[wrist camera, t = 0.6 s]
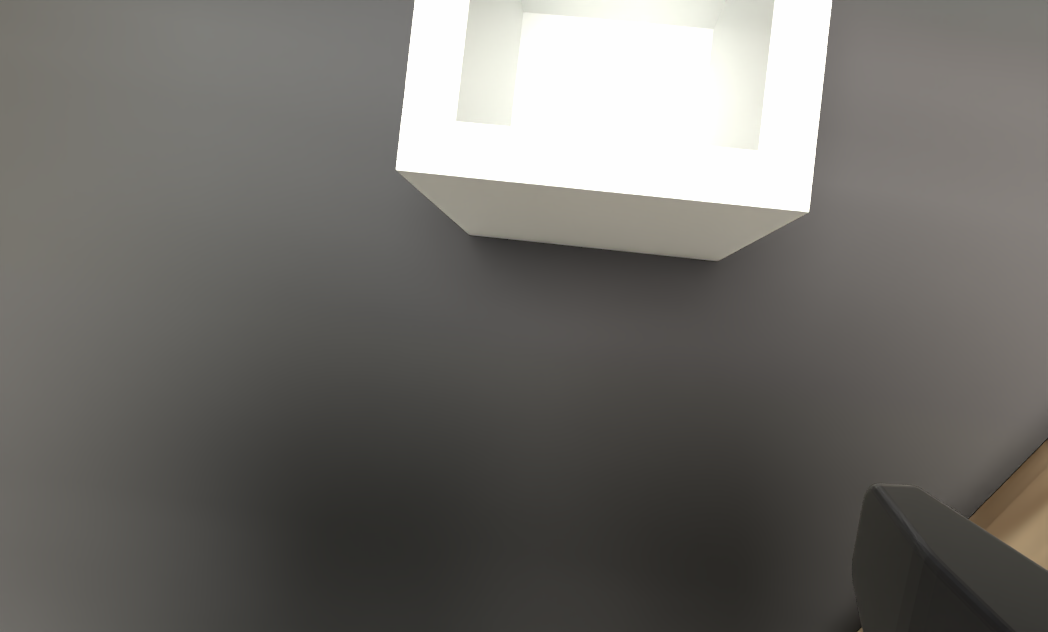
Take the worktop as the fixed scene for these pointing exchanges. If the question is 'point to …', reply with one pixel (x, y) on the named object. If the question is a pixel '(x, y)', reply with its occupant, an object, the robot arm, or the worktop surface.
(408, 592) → the worktop surface
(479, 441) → the worktop surface
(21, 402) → the worktop surface
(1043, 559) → the pine crate
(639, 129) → the white crate
